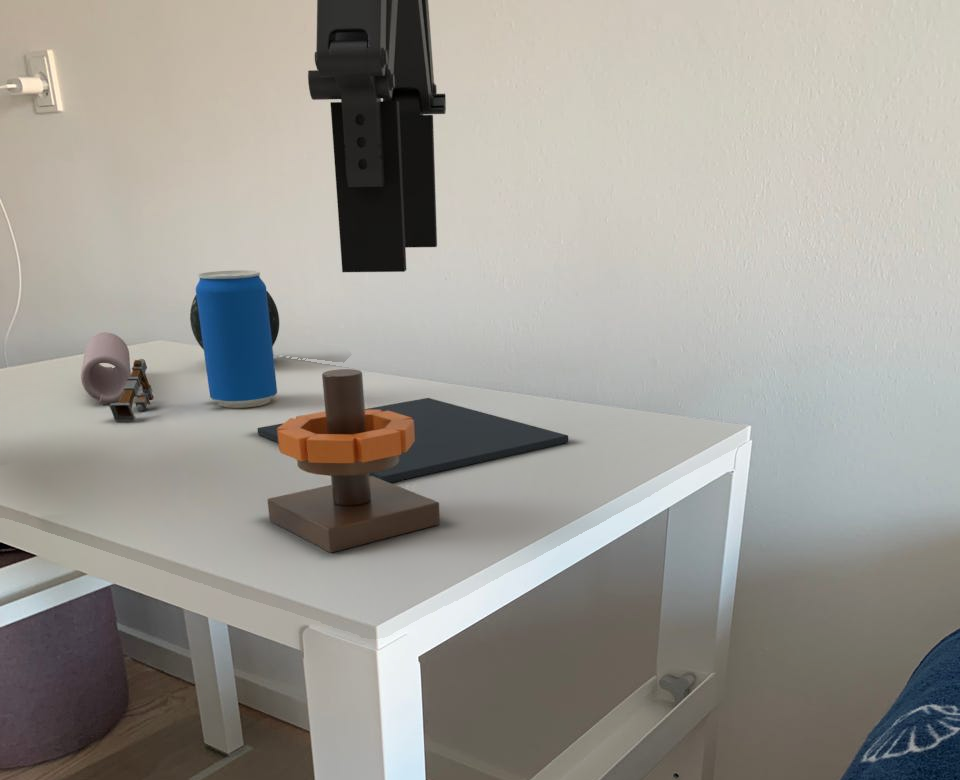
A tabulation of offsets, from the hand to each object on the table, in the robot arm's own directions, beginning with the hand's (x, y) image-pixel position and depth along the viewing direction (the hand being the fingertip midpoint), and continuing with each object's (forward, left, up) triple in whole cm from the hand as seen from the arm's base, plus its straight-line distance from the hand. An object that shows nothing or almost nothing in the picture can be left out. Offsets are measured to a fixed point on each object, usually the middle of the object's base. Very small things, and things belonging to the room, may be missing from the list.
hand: (395, 258), depth 50 cm
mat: (-25, +17, -17) cm, 35 cm away
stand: (-9, +2, -17) cm, 19 cm away
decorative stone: (-68, +22, -17) cm, 74 cm away
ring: (-9, +2, -12) cm, 15 cm away
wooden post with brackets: (-51, +3, -17) cm, 54 cm away
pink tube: (-65, +5, -17) cm, 67 cm away
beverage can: (-48, +13, -17) cm, 53 cm away
